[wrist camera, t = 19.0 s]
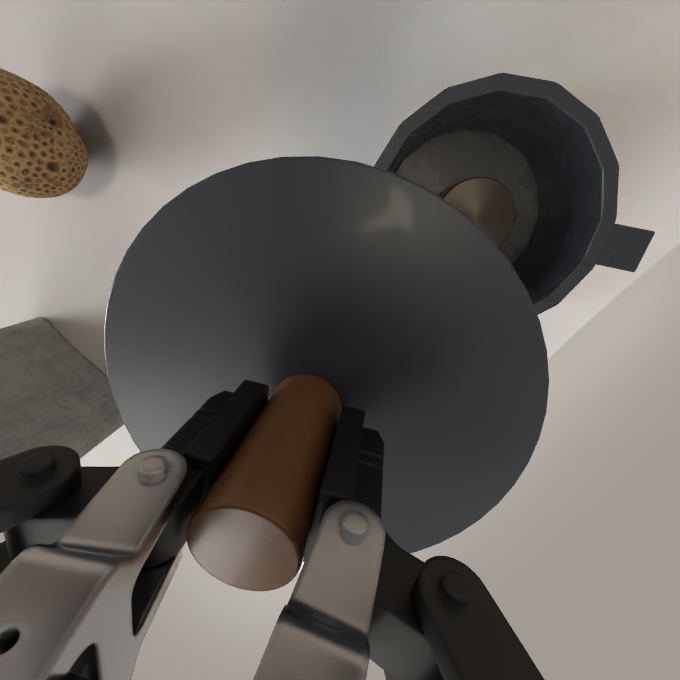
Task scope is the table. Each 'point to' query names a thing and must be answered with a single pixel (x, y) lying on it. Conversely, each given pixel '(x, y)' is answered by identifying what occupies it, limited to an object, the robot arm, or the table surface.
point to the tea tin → (484, 205)
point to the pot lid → (327, 352)
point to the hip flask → (50, 393)
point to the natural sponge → (37, 142)
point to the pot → (526, 175)
